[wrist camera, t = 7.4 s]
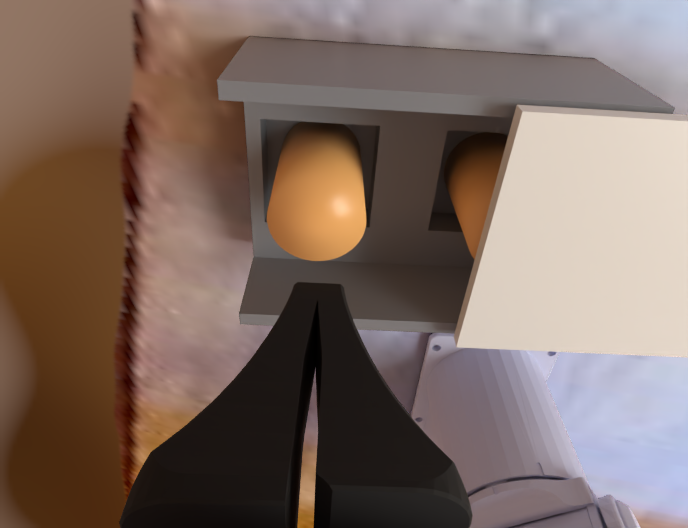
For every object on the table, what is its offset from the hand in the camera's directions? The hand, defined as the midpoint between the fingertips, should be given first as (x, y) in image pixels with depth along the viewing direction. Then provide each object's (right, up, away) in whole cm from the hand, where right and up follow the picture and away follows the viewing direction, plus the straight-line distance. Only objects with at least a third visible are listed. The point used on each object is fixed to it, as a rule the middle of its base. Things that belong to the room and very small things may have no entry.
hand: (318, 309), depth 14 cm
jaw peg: (0, +6, +8) cm, 10 cm away
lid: (+13, +2, +4) cm, 13 cm away
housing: (+4, +6, +8) cm, 11 cm away
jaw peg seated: (+7, +6, +8) cm, 12 cm away
